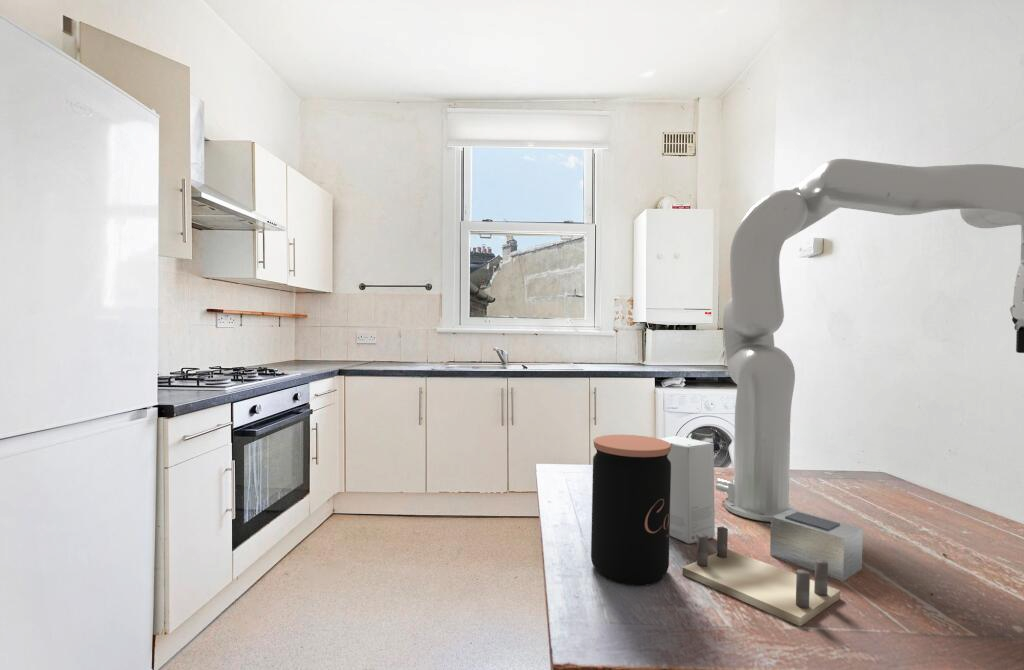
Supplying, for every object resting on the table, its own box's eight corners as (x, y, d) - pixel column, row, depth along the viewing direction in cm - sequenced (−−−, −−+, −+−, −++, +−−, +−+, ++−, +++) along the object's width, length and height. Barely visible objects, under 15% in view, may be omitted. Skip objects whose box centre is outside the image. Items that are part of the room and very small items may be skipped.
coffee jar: (655, 596, 66) (658, 454, 66) (578, 574, 72) (580, 443, 71) (677, 565, 75) (680, 440, 75) (607, 548, 81) (609, 431, 80)
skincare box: (715, 538, 85) (717, 443, 85) (686, 546, 82) (689, 447, 82) (676, 521, 93) (678, 434, 92) (648, 528, 89) (650, 437, 89)
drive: (770, 556, 79) (770, 515, 79) (790, 546, 83) (791, 507, 83) (843, 582, 71) (843, 536, 71) (861, 569, 75) (862, 526, 75)
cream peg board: (682, 574, 72) (683, 538, 72) (726, 555, 79) (726, 522, 79) (800, 626, 60) (801, 582, 60) (840, 598, 66) (841, 559, 66)
